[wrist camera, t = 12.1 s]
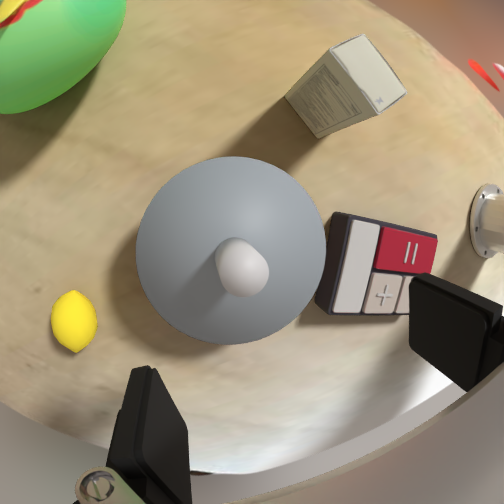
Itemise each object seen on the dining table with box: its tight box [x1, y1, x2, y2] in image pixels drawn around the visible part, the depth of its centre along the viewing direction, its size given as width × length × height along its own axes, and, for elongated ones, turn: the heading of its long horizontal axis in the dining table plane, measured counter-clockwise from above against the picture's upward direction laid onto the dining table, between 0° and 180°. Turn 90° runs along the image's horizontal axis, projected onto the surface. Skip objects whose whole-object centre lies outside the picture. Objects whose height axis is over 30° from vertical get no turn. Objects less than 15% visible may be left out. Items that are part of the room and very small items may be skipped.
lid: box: [136, 156, 326, 345], centre depth 22 cm, size 16×16×6 cm
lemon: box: [51, 290, 98, 353], centre depth 27 cm, size 7×5×5 cm
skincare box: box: [285, 34, 407, 139], centre depth 23 cm, size 6×4×12 cm
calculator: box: [315, 212, 438, 315], centre depth 33 cm, size 11×4×15 cm
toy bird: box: [0, 0, 126, 114], centre depth 15 cm, size 18×17×15 cm
